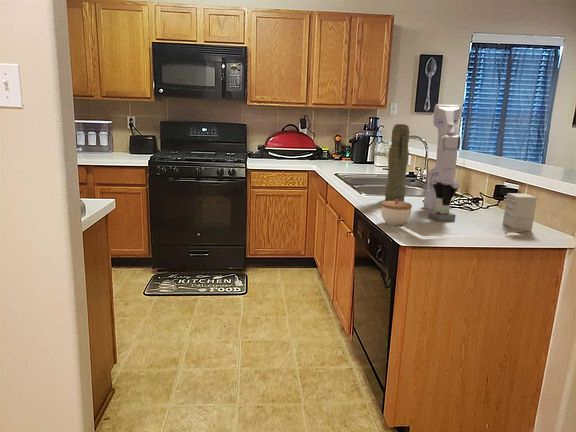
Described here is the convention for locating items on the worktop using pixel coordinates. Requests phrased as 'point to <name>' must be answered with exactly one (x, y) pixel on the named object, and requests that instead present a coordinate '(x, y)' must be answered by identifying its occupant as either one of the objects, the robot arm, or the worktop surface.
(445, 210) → the column
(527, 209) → the supplement box
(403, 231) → the worktop surface
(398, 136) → the potted cactus
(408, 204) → the lidded jar
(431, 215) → the stand base
